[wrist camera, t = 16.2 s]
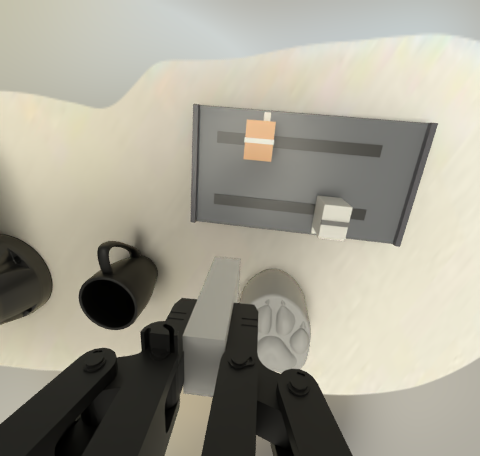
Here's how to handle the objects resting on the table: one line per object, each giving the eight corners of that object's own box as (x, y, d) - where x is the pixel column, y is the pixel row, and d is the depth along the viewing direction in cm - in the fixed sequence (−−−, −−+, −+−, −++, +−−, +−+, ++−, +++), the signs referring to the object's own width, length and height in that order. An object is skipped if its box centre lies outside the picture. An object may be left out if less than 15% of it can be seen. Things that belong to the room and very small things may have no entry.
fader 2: (311, 224, 35) (318, 238, 30) (316, 195, 34) (324, 205, 29) (335, 227, 35) (345, 242, 30) (341, 197, 33) (353, 208, 28)
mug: (163, 227, 40) (131, 252, 31) (167, 294, 44) (140, 333, 35) (112, 223, 41) (68, 246, 32) (120, 289, 45) (83, 326, 36)
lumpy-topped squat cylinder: (239, 333, 45) (232, 376, 37) (241, 266, 41) (233, 297, 33) (300, 340, 44) (306, 385, 36) (309, 271, 40) (318, 305, 32)
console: (196, 216, 39) (190, 222, 36) (199, 106, 34) (193, 103, 31) (390, 238, 37) (399, 246, 34) (424, 124, 32) (437, 123, 29)
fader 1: (247, 156, 33) (242, 159, 28) (250, 122, 32) (246, 119, 27) (271, 158, 33) (271, 162, 28) (275, 124, 31) (276, 121, 26)
